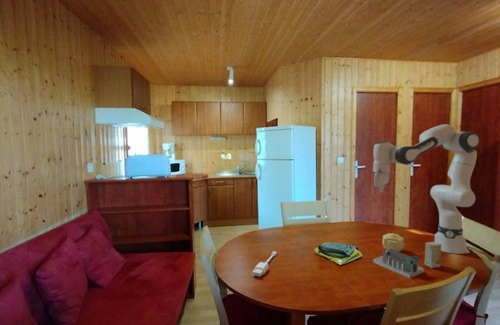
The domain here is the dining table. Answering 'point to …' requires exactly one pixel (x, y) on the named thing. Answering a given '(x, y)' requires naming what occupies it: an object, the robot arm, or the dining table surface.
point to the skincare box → (432, 254)
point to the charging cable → (262, 266)
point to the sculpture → (393, 242)
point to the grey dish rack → (399, 265)
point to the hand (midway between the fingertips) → (381, 192)
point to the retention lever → (401, 256)
